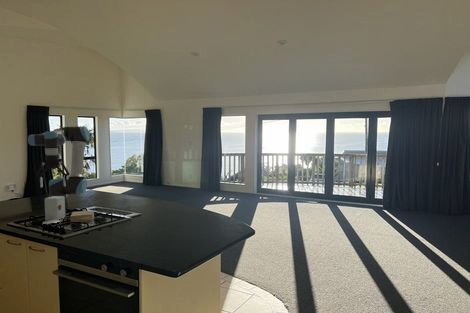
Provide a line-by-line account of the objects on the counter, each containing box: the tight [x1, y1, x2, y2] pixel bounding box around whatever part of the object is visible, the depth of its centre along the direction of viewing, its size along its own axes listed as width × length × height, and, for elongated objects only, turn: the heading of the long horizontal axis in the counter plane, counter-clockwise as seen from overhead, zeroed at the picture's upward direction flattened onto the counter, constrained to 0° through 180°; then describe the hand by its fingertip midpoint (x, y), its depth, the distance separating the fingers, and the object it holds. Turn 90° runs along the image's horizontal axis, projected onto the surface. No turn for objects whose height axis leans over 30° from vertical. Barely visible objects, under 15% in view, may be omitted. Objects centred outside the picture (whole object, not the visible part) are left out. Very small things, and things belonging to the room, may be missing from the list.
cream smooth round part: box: [42, 219, 61, 225], centre depth 216 cm, size 10×10×1 cm
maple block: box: [69, 210, 95, 223], centre depth 224 cm, size 13×13×5 cm
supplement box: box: [44, 196, 66, 221], centre depth 227 cm, size 9×9×15 cm
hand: (53, 186), depth 224 cm, fingers open, 13 cm apart
